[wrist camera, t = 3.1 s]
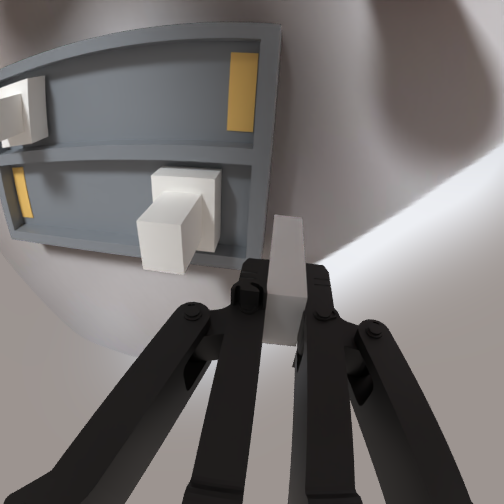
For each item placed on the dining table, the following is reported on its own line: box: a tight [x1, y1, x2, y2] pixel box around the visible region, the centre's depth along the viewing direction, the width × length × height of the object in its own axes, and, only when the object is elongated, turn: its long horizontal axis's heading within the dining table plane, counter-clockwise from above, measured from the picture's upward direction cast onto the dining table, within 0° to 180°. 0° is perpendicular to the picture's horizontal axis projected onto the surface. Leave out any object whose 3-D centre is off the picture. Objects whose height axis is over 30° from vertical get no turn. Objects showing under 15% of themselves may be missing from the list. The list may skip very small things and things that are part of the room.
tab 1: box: [0, 75, 48, 148], centre depth 15 cm, size 5×4×6 cm
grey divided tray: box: [0, 22, 282, 270], centre depth 19 cm, size 16×24×4 cm, turn 86°
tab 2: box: [136, 166, 222, 275], centre depth 18 cm, size 5×4×6 cm
